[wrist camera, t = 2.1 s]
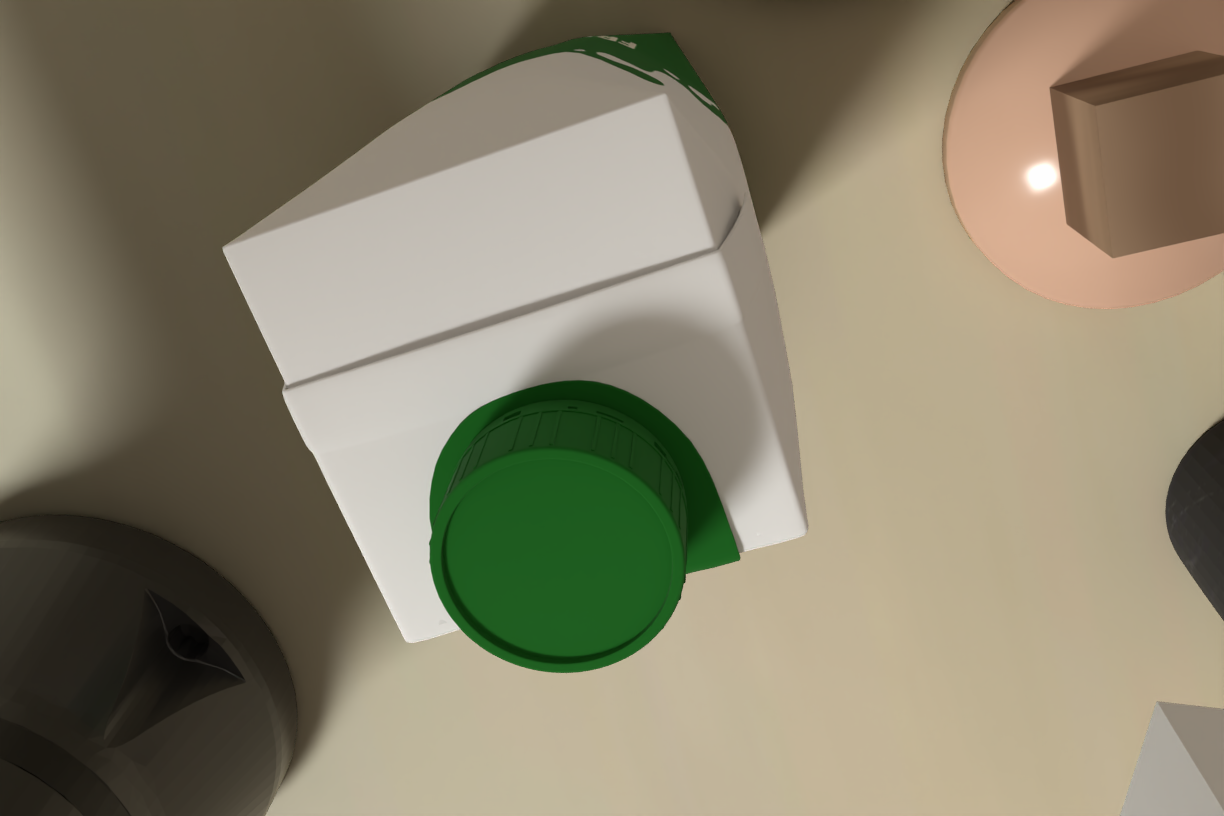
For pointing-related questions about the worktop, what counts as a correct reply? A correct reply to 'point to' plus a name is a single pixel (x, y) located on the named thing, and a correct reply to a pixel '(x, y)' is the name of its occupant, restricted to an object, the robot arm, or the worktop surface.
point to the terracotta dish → (1027, 151)
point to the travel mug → (1200, 514)
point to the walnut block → (1143, 153)
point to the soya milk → (539, 352)
